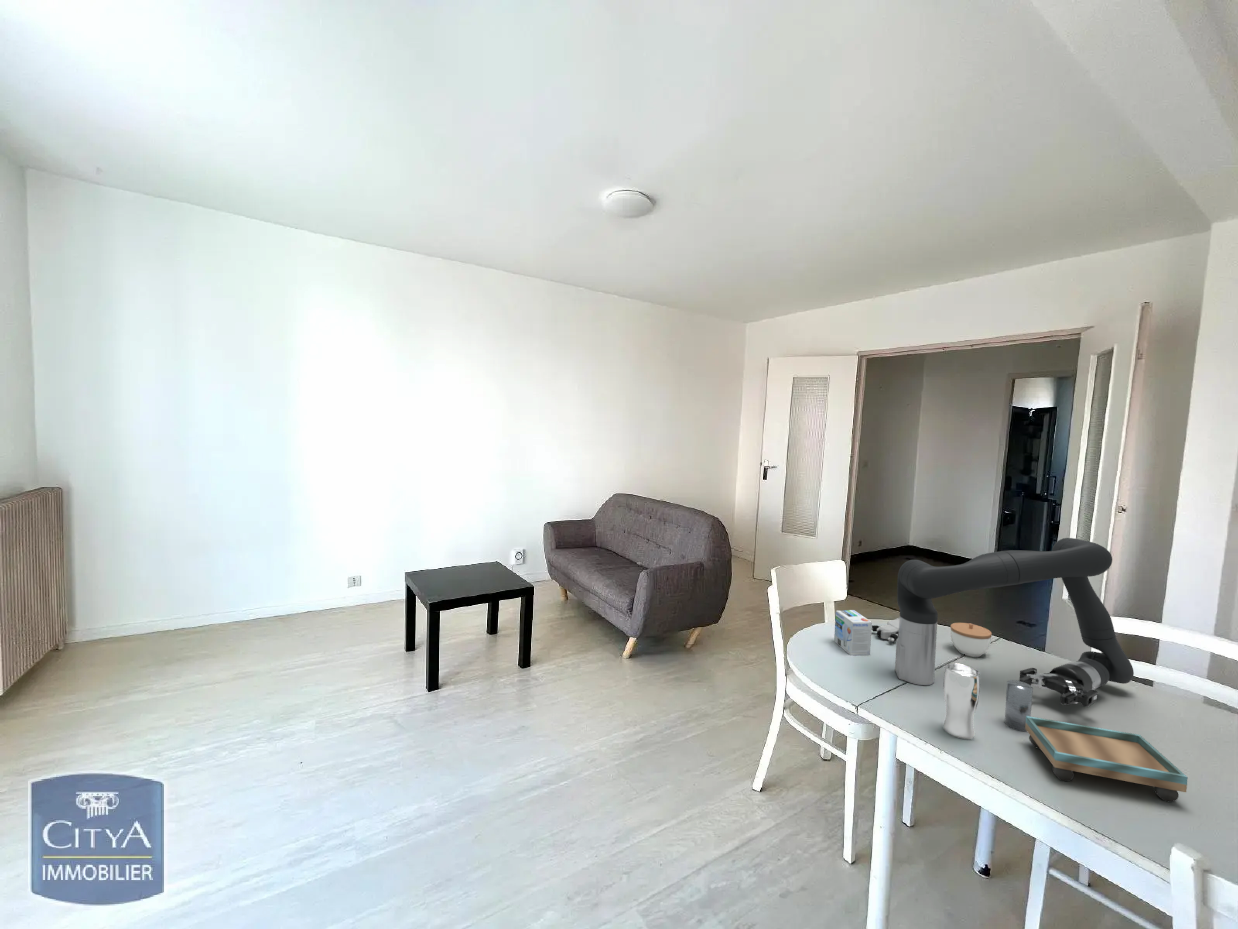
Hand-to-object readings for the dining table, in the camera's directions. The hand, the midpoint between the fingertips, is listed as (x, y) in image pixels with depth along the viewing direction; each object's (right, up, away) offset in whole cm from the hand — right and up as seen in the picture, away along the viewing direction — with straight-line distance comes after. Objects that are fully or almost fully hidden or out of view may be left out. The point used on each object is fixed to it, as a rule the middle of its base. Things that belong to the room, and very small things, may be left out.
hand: (1041, 692), depth 125 cm
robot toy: (-10, -3, +47) cm, 48 cm away
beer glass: (-25, -6, -7) cm, 27 cm away
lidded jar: (+7, -4, +36) cm, 37 cm away
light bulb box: (-29, -3, +38) cm, 48 cm away
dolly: (-5, -7, -20) cm, 22 cm away
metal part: (-9, -6, -4) cm, 12 cm away
